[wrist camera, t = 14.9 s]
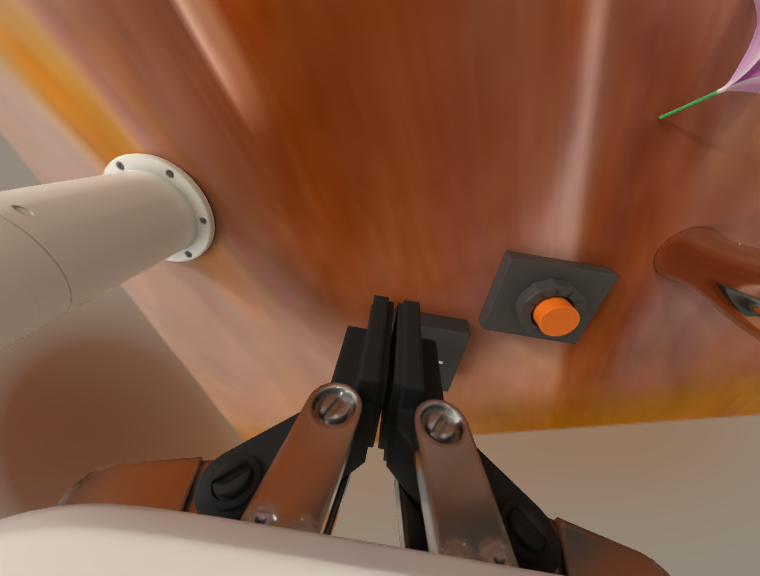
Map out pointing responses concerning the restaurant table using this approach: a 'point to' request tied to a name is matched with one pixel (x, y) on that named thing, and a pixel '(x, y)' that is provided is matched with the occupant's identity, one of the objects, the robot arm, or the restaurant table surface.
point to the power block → (543, 293)
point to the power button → (556, 316)
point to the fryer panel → (444, 341)
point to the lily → (739, 71)
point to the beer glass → (716, 273)
